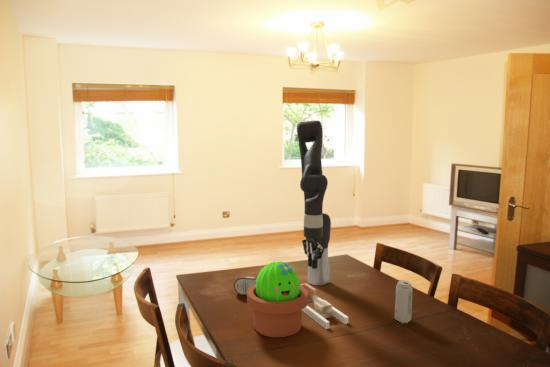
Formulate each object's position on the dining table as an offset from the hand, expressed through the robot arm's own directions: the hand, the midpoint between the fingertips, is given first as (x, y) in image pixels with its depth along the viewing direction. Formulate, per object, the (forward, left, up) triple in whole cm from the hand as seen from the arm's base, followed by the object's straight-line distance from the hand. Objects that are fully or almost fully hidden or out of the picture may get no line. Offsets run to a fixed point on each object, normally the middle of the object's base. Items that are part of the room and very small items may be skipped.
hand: (312, 267), depth 172 cm
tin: (+17, -23, -17) cm, 33 cm away
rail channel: (0, +3, -17) cm, 17 cm away
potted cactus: (+20, +8, -17) cm, 28 cm away
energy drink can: (-25, +25, -17) cm, 39 cm away
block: (0, +8, -17) cm, 19 cm away
